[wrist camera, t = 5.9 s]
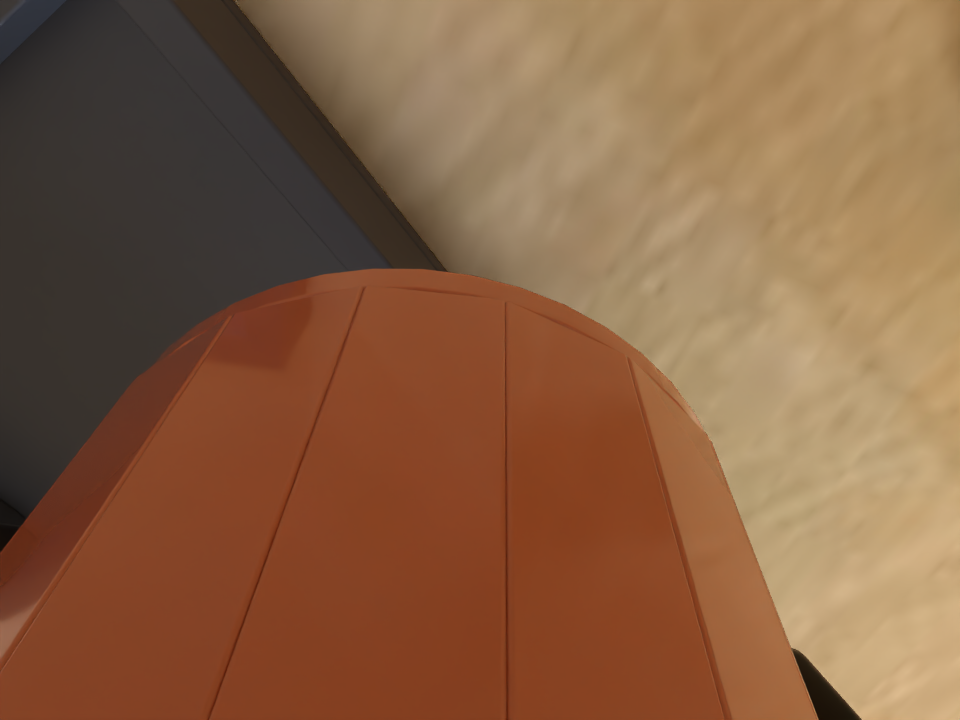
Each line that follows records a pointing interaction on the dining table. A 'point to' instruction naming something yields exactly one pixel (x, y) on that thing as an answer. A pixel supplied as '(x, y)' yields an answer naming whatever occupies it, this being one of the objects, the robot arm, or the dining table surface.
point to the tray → (151, 205)
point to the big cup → (393, 527)
